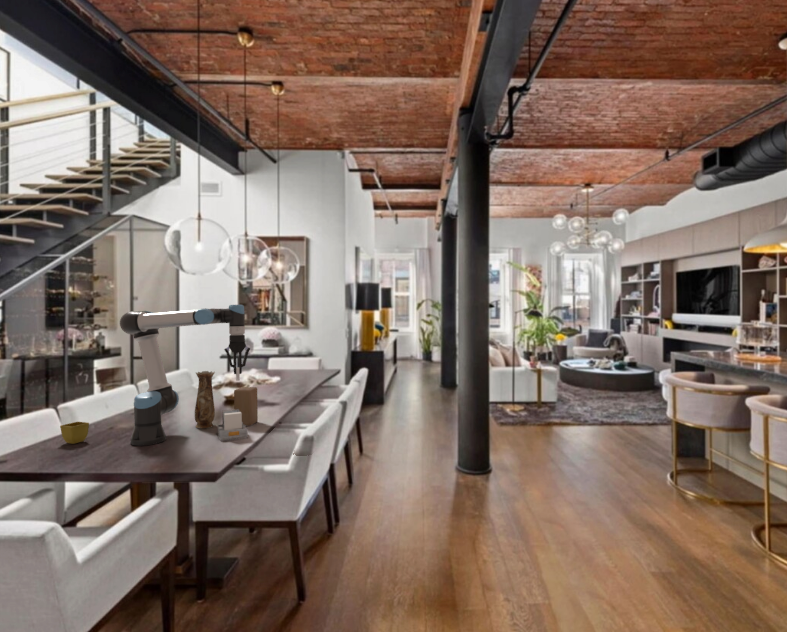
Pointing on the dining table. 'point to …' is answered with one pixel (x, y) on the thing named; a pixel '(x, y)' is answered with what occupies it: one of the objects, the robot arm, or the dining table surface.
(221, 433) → the frame
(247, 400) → the block
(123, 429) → the dining table surface
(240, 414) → the panel
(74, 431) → the flower pot
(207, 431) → the dining table surface
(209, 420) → the vase
